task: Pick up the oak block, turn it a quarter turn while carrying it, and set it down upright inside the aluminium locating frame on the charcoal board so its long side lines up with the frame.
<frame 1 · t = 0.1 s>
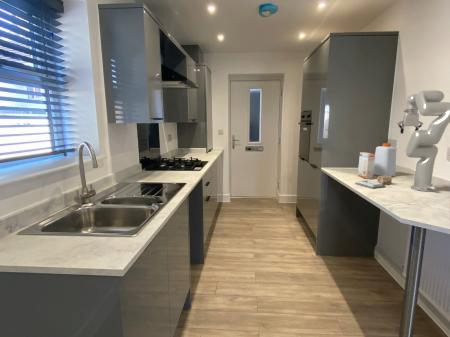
hand: (408, 133, 205), 37 cm above the countertop, tool pointing down, fingers open, 9 cm apart
plastic bottle: (383, 175, 228), on the countertop
cracker box: (364, 177, 219), on the countertop
oak block: (384, 184, 196), on the countertop
locator board: (369, 185, 191), on the countertop
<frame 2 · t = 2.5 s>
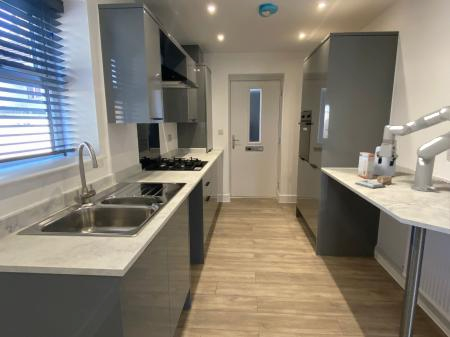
hand: (385, 164, 193), 15 cm above the countertop, tool pointing down, fingers open, 9 cm apart
nothing on the countertop moved.
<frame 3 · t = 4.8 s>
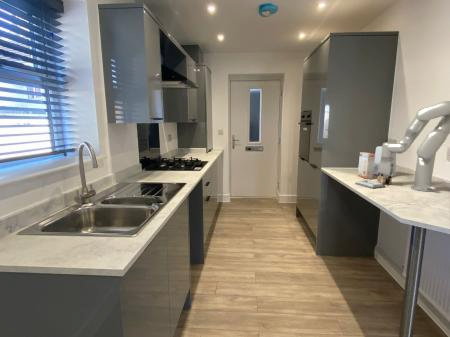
hand: (384, 182, 196), 1 cm above the countertop, tool pointing down, fingers closed on oak block, 4 cm apart
oak block: (383, 184, 196), on the countertop, touching gripper
everything else where it was.
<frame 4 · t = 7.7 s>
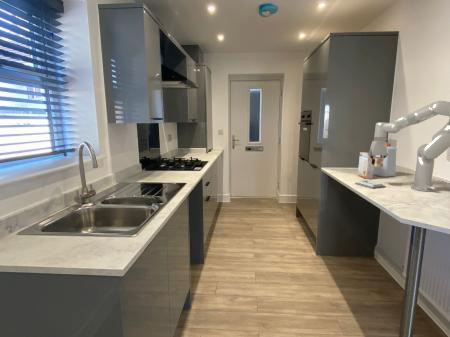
hand: (376, 164, 190), 16 cm above the countertop, tool pointing down, fingers closed on oak block, 4 cm apart
oak block: (376, 165, 190), point 15 cm above the countertop, touching gripper
everything else where it was.
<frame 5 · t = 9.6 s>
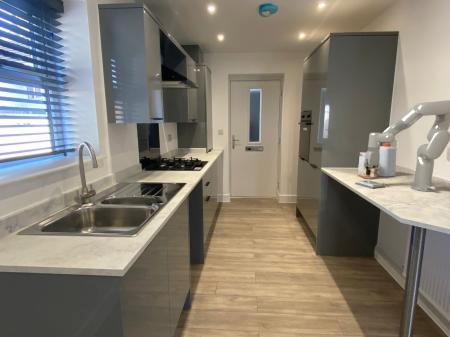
hand: (370, 174, 190), 8 cm above the countertop, tool pointing down, fingers closed on oak block, 4 cm apart
oak block: (370, 175, 190), point 7 cm above the countertop, touching gripper
everything else where it was.
when the fingers open (3 cm above the countertop, at t = 10.9 s): oak block drops 1 cm, resting on locator board.
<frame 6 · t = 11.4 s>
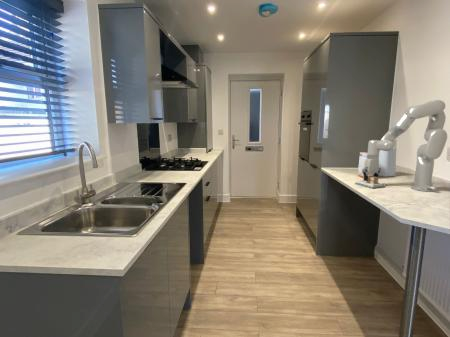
hand: (370, 180, 190), 4 cm above the countertop, tool pointing down, fingers open, 9 cm apart
oak block: (370, 184, 191), point 1 cm above the countertop, touching locator board
everything else where it was.
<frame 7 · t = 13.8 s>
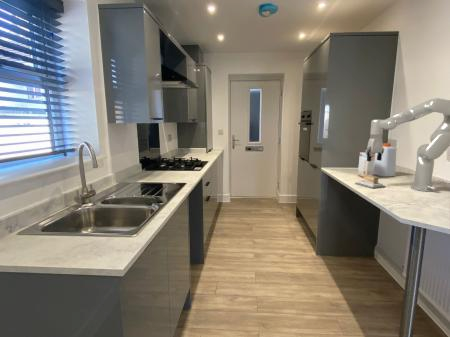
hand: (374, 160, 188), 19 cm above the countertop, tool pointing down, fingers open, 9 cm apart
nothing on the countertop moved.
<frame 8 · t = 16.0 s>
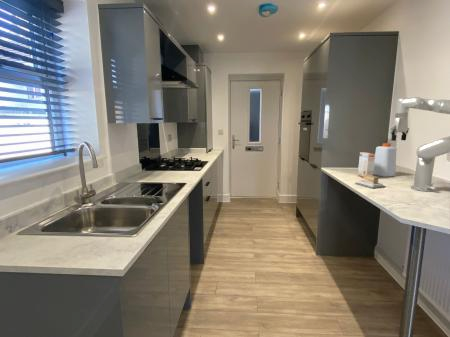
hand: (398, 140, 186), 33 cm above the countertop, tool pointing down, fingers open, 9 cm apart
nothing on the countertop moved.
at the end: oak block 0.0 cm off-centre on the locator board, point 1.0 cm above the locator board's base; oak block tilted 0°; the gripper is holding nothing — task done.
